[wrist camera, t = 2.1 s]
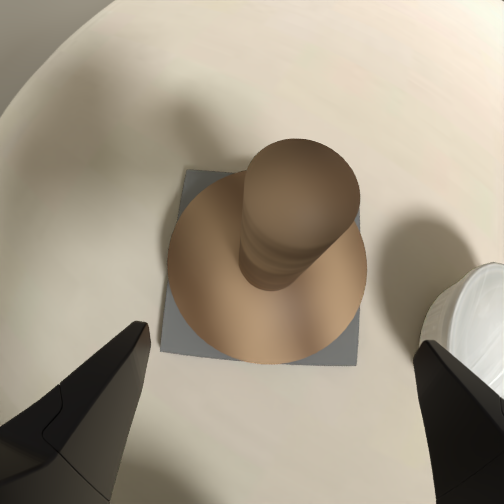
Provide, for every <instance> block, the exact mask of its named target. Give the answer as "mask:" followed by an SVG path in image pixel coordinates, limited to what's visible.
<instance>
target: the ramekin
mask: <svg viewBox="0 0 504 504" xmlns="http://www.w3.org/2000/svg"><path fill="white" fill-rule="evenodd" d="M424 340H435V341H437V342H438V343H439V344H440V345H441V346H443V347H444V348H445V349H446V350H447V351H449V352H450V353H451V354H452V355H453V356H454V357H456V358H457V359H458V360H459V361H460V362H462V363H463V364H464V365H465V366H466V367H467V368H469V369H470V370H471V371H472V372H473V373H474V374H475V375H477V376H478V377H479V378H480V379H481V380H482V381H483V382H485V383H486V384H487V385H488V386H489V387H490V388H491V389H493V390H494V391H495V392H496V393H497V394H498V395H499V396H500V397H502V398H503V399H504V264H501V263H496V262H491V263H487V264H483V265H481V266H478V267H476V268H474V269H473V270H471V271H470V272H468V273H467V274H466V275H465V276H464V277H463V278H462V279H461V280H460V281H458V282H457V283H455V284H454V285H452V286H451V287H449V288H448V289H446V290H445V291H443V293H441V294H440V295H439V296H438V298H437V299H436V300H435V301H434V303H433V304H432V305H431V307H430V309H429V311H428V312H427V315H426V318H425V320H424V323H423V327H422V329H421V335H420V343H419V347H420V345H421V343H422V342H423V341H424Z"/></svg>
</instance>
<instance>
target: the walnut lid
mask: <svg viewBox="0 0 504 504" xmlns="http://www.w3.org/2000/svg"><path fill="white" fill-rule="evenodd" d="M359 206H360V189H359V185H358V182H357V179H356V176H355V174H354V172H353V171H352V169H351V168H350V166H349V165H348V163H347V162H346V161H345V160H344V159H343V158H342V157H341V156H340V155H339V154H338V153H336V152H335V151H334V150H332V149H330V148H329V147H327V146H325V145H323V144H321V143H318V142H315V141H311V140H306V139H285V140H281V141H277V142H275V143H272V144H270V145H268V146H267V147H265V148H264V149H262V150H261V151H260V152H259V153H258V154H257V155H256V156H255V157H254V158H253V160H252V161H251V163H250V165H249V166H248V169H247V170H246V171H241V172H238V173H234V174H231V175H228V176H226V177H224V178H222V179H219V180H218V181H216V182H214V183H213V184H211V185H209V186H208V187H207V188H205V189H204V190H203V191H201V192H200V193H199V194H198V195H197V196H196V197H195V198H194V199H193V200H192V201H191V202H190V203H189V205H188V206H187V207H186V209H185V210H184V211H183V213H182V214H181V216H180V218H179V220H178V222H177V224H176V226H175V228H174V231H173V234H172V236H171V240H170V245H169V249H168V260H167V266H168V278H169V284H170V289H171V292H172V295H173V298H174V301H175V303H176V305H177V307H178V309H179V311H180V313H181V315H182V316H183V318H184V319H185V321H186V322H187V324H188V325H189V326H190V327H191V328H192V330H193V331H194V332H195V333H196V334H197V335H198V336H199V337H200V338H201V339H203V340H204V341H205V342H206V343H207V344H209V345H210V346H212V347H213V348H215V349H216V350H218V351H220V352H221V353H224V354H226V355H228V356H230V357H232V358H235V359H239V360H242V361H245V362H250V363H257V364H282V363H289V362H293V361H297V360H300V359H304V358H306V357H308V356H311V355H313V354H315V353H317V352H318V351H320V350H322V349H323V348H325V347H327V346H328V345H329V344H330V343H332V342H333V341H334V340H335V339H337V338H338V337H339V335H340V334H341V333H342V332H343V331H344V330H345V329H346V328H347V326H348V325H349V323H350V322H351V321H352V319H353V318H354V316H355V314H356V312H357V310H358V308H359V306H360V303H361V300H362V297H363V295H364V290H365V285H366V277H367V260H366V252H365V247H364V243H363V240H362V237H361V234H360V231H359V229H358V227H357V225H356V223H355V221H354V220H355V218H356V216H357V213H358V210H359Z"/></svg>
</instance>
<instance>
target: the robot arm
mask: <svg viewBox="0 0 504 504" xmlns="http://www.w3.org/2000/svg"><path fill="white" fill-rule="evenodd" d="M150 348H151V339H150V332H149V326H148V323H146V322H142V321H134V322H132V323H131V324H130V325H129V326H127V327H126V328H125V329H124V330H123V331H121V332H120V333H119V334H118V335H117V336H115V337H114V338H113V339H112V340H110V341H109V342H108V343H107V344H106V345H104V346H103V347H102V348H101V349H100V350H98V351H97V352H96V353H95V354H94V355H92V356H91V357H90V358H89V359H88V360H86V361H85V362H84V363H83V364H82V365H80V366H79V367H78V368H77V369H76V370H75V371H73V372H72V373H71V374H70V375H69V376H67V377H66V378H65V379H64V380H63V381H61V382H60V385H59V384H58V385H57V386H55V387H54V388H53V389H52V390H51V391H50V392H48V393H47V394H46V395H45V396H43V397H42V398H41V399H40V400H38V401H37V402H36V403H34V404H33V405H31V406H30V407H29V408H27V409H26V410H24V411H23V412H21V413H20V414H18V415H17V416H15V417H14V418H12V419H11V420H9V421H8V422H6V423H5V424H4V425H2V426H0V504H109V503H110V502H109V501H110V499H111V495H112V491H113V487H114V483H115V480H116V476H117V472H118V469H119V465H120V461H121V458H122V454H123V451H124V447H125V444H126V441H127V437H128V434H129V431H130V427H131V424H132V421H133V417H134V414H135V411H136V408H137V405H138V401H139V398H140V395H141V392H142V388H143V383H144V378H145V373H146V368H147V363H148V358H149V353H150ZM413 364H414V371H415V378H416V385H417V392H418V399H419V404H420V409H421V413H422V418H423V423H424V427H425V432H426V438H427V443H428V448H429V454H430V460H431V466H432V473H433V480H434V487H435V495H436V504H504V399H503V398H502V397H500V396H499V395H498V394H497V393H496V392H495V391H494V390H493V389H491V388H490V387H489V386H488V385H487V384H486V383H485V382H483V381H482V380H481V379H480V378H479V377H478V376H477V375H475V374H474V373H473V372H472V371H471V370H470V369H469V368H467V367H466V366H465V365H464V364H463V363H462V362H460V361H459V360H458V359H457V358H456V357H454V356H453V355H452V354H451V353H450V352H449V351H447V350H446V349H445V348H444V347H443V346H441V345H440V344H439V343H438V342H437V341H435V340H424V341H423V342H422V343H421V345H420V347H419V349H418V350H417V352H416V354H415V356H414V359H413Z"/></svg>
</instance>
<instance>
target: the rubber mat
mask: <svg viewBox="0 0 504 504" xmlns="http://www.w3.org/2000/svg"><path fill="white" fill-rule="evenodd" d="M231 174H234V173H227V172H215V171H202V170H187V171H186V176H185V181H184V186H183V191H182V197H181V202H180V208H179V214H178V219H177V222H178V220H179V218H180V216H181V214H182V213H183V211H184V210H185V209H186V207H187V206H188V205H189V203H190V202H191V201H192V200H193V199H194V198H195V197H196V196H197V195H198V194H199V193H200V192H201V191H203V190H204V189H205V188H207V187H208V186H209V185H211V184H213V183H214V182H216V181H218V180H219V179H222V178H224V177H226V176H228V175H231ZM354 221H355V223H356V225H357V227H358V229H359V231H360V211H359V210H358V213H357V216H356V218H355V220H354ZM359 314H360V306H359V308H358V310H357V312H356V314H355V316H354V318H353V319H352V321H351V322H350V323H349V325H348V326H347V328H346V329H345V330H344V331H343V332H342V333H341V334H340V335H339V337H338V338H337V339H335V340H334V341H333V342H332V343H330V344H329V345H328V346H327V347H325V348H323V349H322V350H320V351H318V352H317V353H315V354H313V355H311V356H308V357H306V358H304V359H300V360H297V361H293V362H289V363H282V364H290V365H316V366H356V364H357V351H358V335H359ZM160 352H167V353H174V354H181V355H189V356H197V357H205V358H214V359H224V360H234V361H242V360H239V359H235V358H232V357H230V356H228V355H226V354H224V353H221V352H220V351H218V350H216V349H215V348H213V347H212V346H210V345H209V344H207V343H206V342H205V341H204V340H203V339H201V338H200V337H199V336H198V335H197V334H196V333H195V332H194V331H193V330H192V328H191V327H190V326H189V325H188V324H187V322H186V321H185V319H184V318H183V316H182V315H181V313H180V311H179V309H178V307H177V305H176V303H175V301H174V298H173V295H172V292H171V289H170V284H169V278H168V285H167V293H166V301H165V309H164V317H163V326H162V336H161V346H160Z"/></svg>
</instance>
